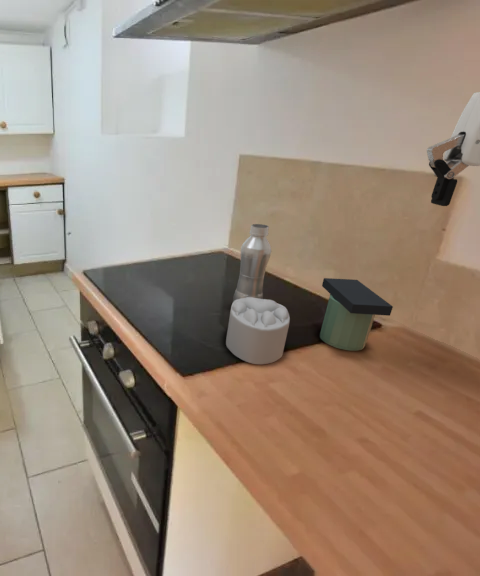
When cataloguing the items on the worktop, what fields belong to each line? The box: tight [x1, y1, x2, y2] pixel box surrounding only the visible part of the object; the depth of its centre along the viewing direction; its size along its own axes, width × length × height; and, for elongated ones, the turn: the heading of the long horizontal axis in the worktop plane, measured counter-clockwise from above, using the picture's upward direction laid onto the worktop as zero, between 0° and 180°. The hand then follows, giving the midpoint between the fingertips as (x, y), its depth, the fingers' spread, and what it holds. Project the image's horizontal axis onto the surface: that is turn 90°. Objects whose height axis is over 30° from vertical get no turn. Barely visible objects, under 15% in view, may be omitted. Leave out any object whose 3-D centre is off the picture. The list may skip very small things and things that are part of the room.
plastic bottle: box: [232, 223, 272, 303], centre depth 85 cm, size 6×7×20 cm
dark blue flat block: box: [321, 277, 394, 317], centre depth 72 cm, size 6×13×2 cm, turn 171°
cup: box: [319, 293, 376, 352], centre depth 74 cm, size 8×8×9 cm
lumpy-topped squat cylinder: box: [225, 297, 291, 365], centre depth 72 cm, size 10×13×9 cm
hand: (474, 205), depth 58 cm, fingers open, 9 cm apart
